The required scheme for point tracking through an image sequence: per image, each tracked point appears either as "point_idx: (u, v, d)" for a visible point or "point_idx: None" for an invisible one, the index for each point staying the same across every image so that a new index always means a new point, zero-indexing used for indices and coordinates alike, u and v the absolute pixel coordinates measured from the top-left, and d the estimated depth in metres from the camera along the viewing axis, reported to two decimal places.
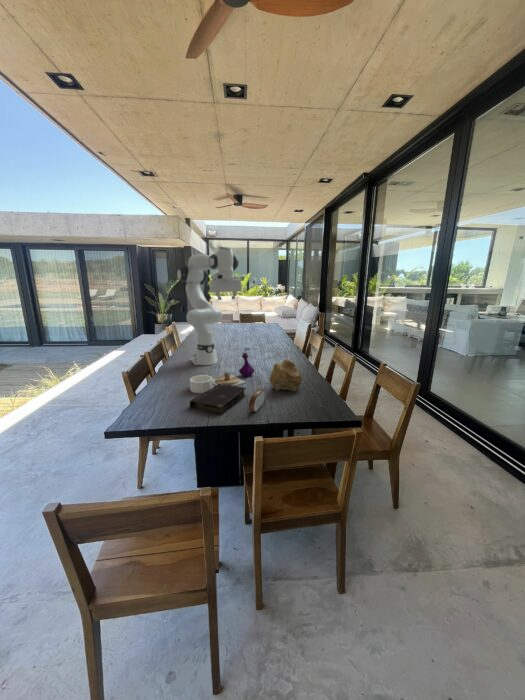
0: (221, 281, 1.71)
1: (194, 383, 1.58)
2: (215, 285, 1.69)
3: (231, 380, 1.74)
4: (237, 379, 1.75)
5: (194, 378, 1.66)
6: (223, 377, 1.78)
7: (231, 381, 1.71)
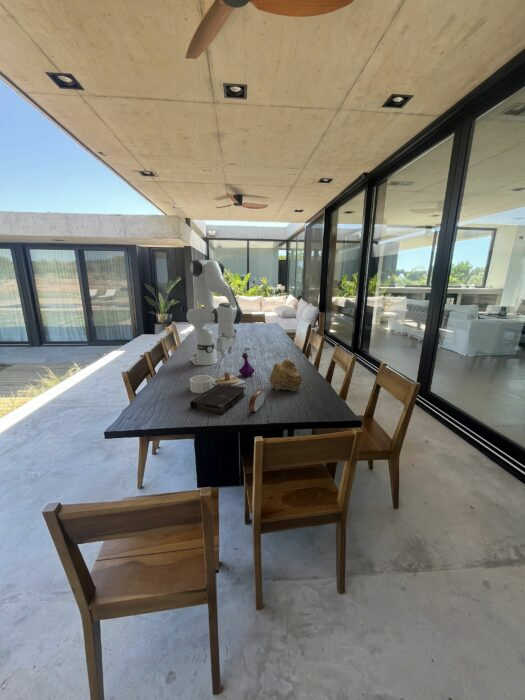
0: None
1: (194, 383, 1.58)
2: None
3: (231, 380, 1.74)
4: (237, 379, 1.75)
5: (194, 378, 1.66)
6: (223, 377, 1.78)
7: (231, 381, 1.71)
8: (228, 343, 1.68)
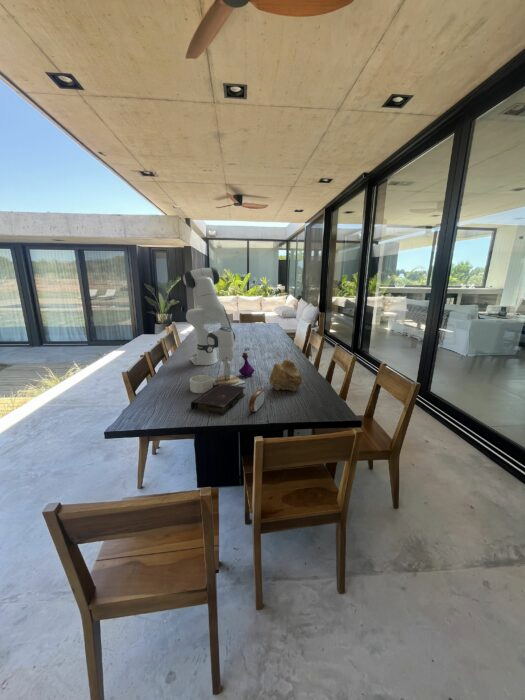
0: None
1: (194, 383, 1.58)
2: None
3: (231, 380, 1.74)
4: (237, 379, 1.75)
5: (194, 378, 1.66)
6: (223, 377, 1.78)
7: (231, 381, 1.72)
8: None
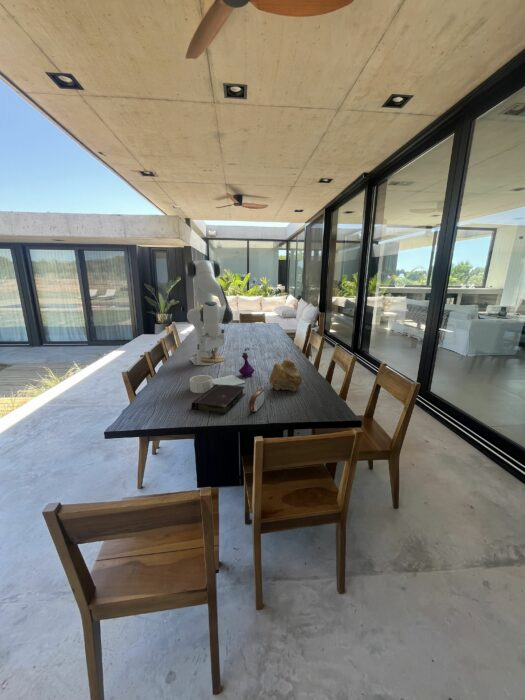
0: None
1: (194, 383, 1.58)
2: None
3: (214, 359, 1.62)
4: (221, 359, 1.62)
5: (194, 378, 1.66)
6: None
7: (212, 360, 1.60)
8: (213, 343, 1.61)
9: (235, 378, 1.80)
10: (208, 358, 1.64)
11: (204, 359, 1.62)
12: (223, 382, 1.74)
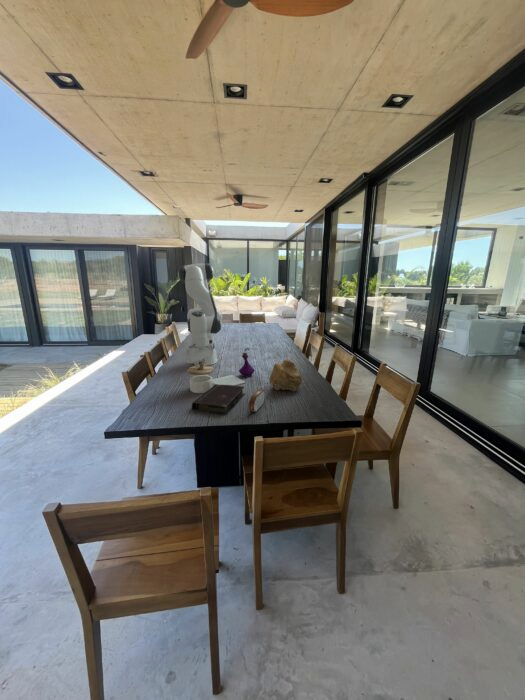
0: None
1: (194, 383, 1.58)
2: None
3: (202, 370, 1.59)
4: (209, 370, 1.59)
5: (194, 378, 1.66)
6: None
7: (199, 371, 1.57)
8: (201, 354, 1.58)
9: (235, 378, 1.80)
10: (196, 369, 1.61)
11: (191, 370, 1.59)
12: (223, 382, 1.74)
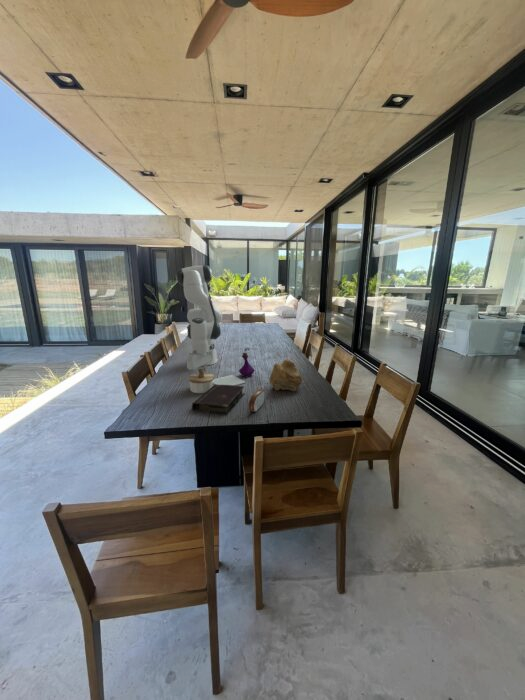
0: None
1: (194, 383, 1.58)
2: None
3: (203, 378, 1.60)
4: (210, 378, 1.60)
5: None
6: None
7: (200, 379, 1.59)
8: (201, 360, 1.59)
9: (235, 378, 1.80)
10: (196, 377, 1.62)
11: (192, 378, 1.60)
12: (223, 382, 1.74)
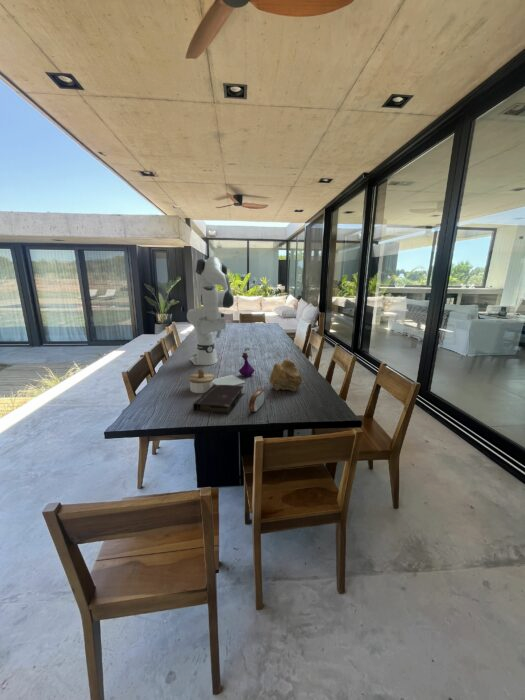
0: None
1: (194, 383, 1.58)
2: None
3: (203, 378, 1.60)
4: (210, 378, 1.60)
5: None
6: None
7: (200, 379, 1.59)
8: (212, 327, 1.66)
9: (235, 378, 1.80)
10: (196, 377, 1.62)
11: (192, 378, 1.60)
12: (223, 382, 1.74)
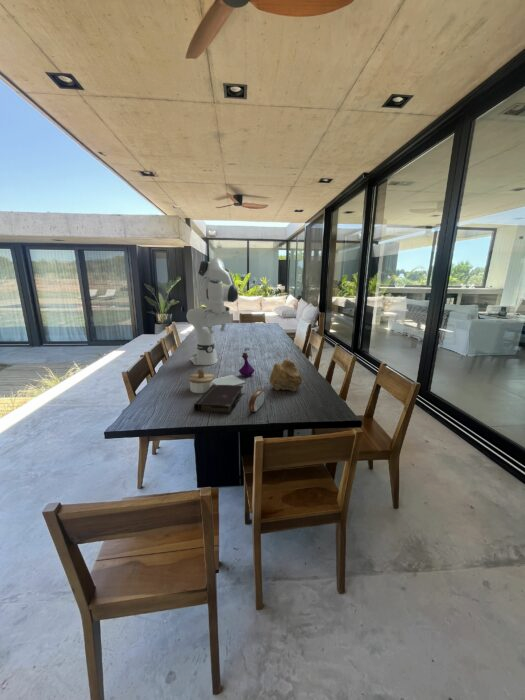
0: None
1: (194, 383, 1.58)
2: None
3: (203, 378, 1.60)
4: (210, 378, 1.60)
5: None
6: None
7: (200, 379, 1.59)
8: (217, 320, 1.69)
9: (235, 378, 1.80)
10: (196, 377, 1.62)
11: (192, 378, 1.60)
12: (223, 382, 1.74)
